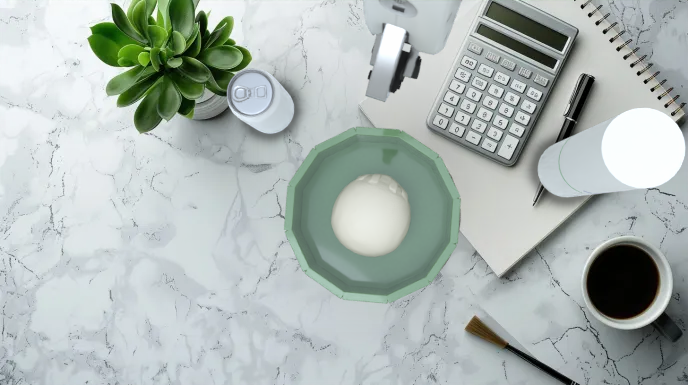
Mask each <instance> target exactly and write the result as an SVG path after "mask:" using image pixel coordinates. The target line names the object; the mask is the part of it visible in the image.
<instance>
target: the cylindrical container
mask: <svg viewBox="0 0 688 385" xmlns="http://www.w3.org/2000/svg"><path fill="white" fill-rule="evenodd" d="M685 156H686V141H685V137H684V134H683V132H682V130H681V128H680V127H679V125H678V123H676V122H675V120H674V119H672V117H671V116H669V115H668V114H666V113H664V112H662V111H660V110H658V109H654V108H650V107H638V108H632V109H629V110H626V111H623V112H621V113H619V114H617V115H615V116H613V117H610V118H608V119H606V120H604V121H602V122H599V123H597V124H595V125H593V126H591V127H589V128H587V129H584V130H581V131H580V132H578V133H576V134H575V133H574V134H573V135H571V136H569V137H567V138H564V139H562V140H560V141H558V142H556V143H553V144H552V145H550V146H548V147H547V148H546V149H545V150H544V151H543V153H542V154H541V155H540V158H539V160H538V163H537V175H538V178H539V181H540V183H541V184H542V186H543V187H544V189H545V190H547V191H548V192H549V193H551V194H552V195H554V196H557V197H560V198H573V197H583V196H591V195H592V196H593V195H600V194H608V193H617V192H626V191H635V190H644V189H651V188H652V189H653V188H656V187H659V186H661V185H663V184H666V183H668V182H669V181H670V180H671V179H672V178H673V177H675V175H677V173H678V172H679V170H680V169H681V167H682V164H683V163H684V159H685Z"/></svg>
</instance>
